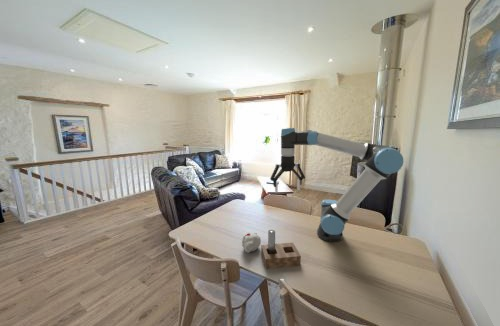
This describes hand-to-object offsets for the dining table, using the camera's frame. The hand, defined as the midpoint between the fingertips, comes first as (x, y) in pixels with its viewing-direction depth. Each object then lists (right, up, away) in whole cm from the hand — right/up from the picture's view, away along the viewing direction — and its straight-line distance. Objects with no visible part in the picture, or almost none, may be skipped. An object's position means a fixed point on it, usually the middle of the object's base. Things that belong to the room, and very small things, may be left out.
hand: (287, 191), depth 119 cm
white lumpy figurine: (-21, -33, -2) cm, 39 cm away
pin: (-11, -33, -12) cm, 37 cm away
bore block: (-6, -34, -12) cm, 37 cm away
